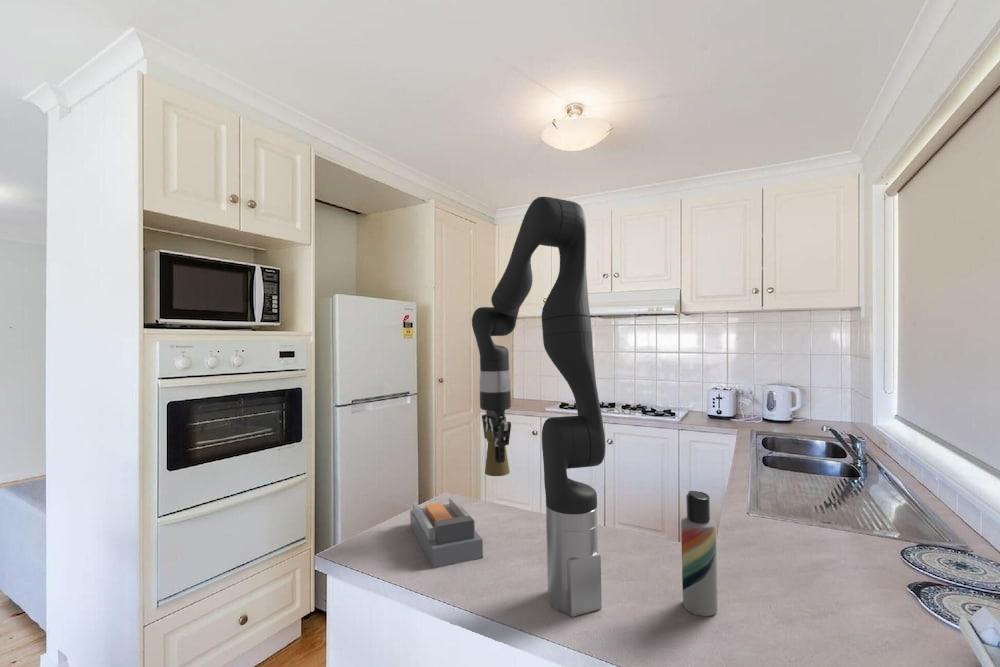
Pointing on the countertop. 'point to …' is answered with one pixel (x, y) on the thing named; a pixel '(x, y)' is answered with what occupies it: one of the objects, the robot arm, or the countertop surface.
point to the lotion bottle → (699, 556)
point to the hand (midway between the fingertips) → (496, 459)
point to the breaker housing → (447, 535)
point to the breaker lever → (437, 512)
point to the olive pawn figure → (491, 464)
